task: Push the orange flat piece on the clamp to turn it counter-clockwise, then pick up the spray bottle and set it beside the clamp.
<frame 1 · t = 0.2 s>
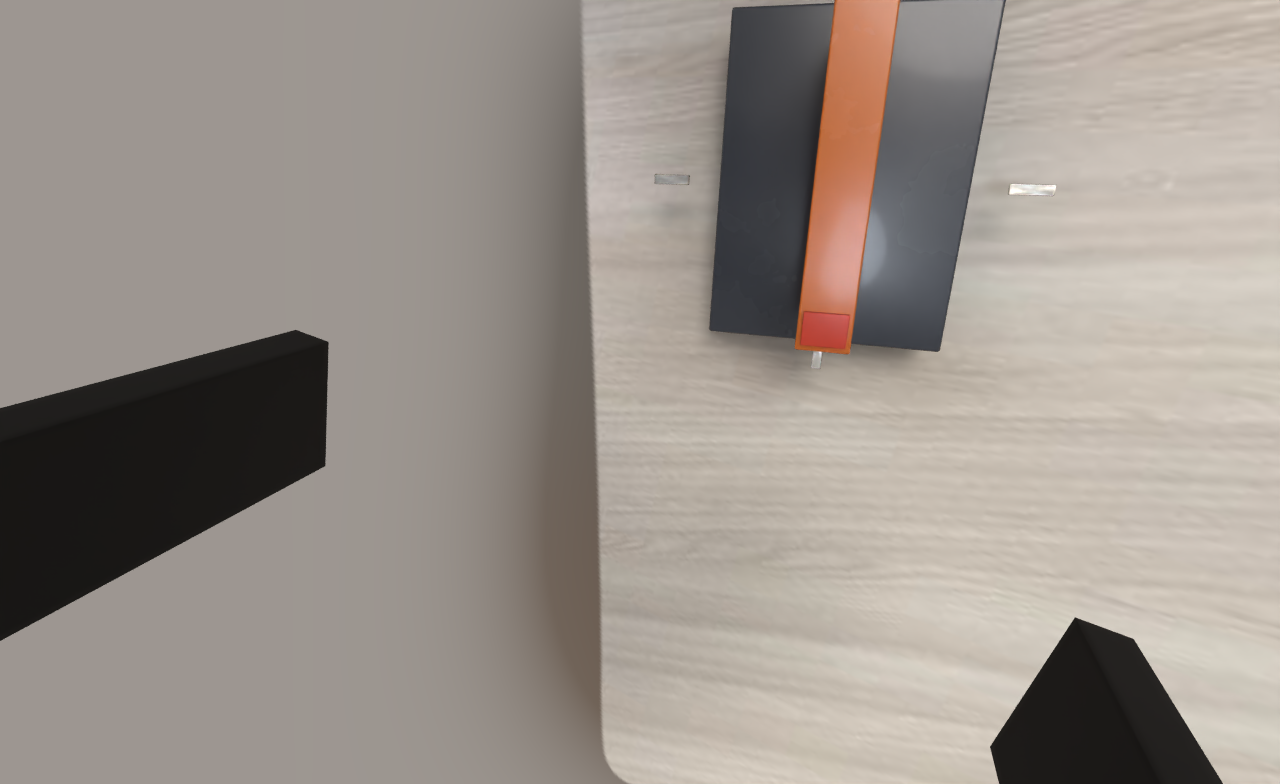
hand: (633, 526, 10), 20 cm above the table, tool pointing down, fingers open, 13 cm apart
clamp: (837, 187, 26), on the table
orange flat piece: (841, 180, 20), point 7 cm above the table, hinge at 0.0°
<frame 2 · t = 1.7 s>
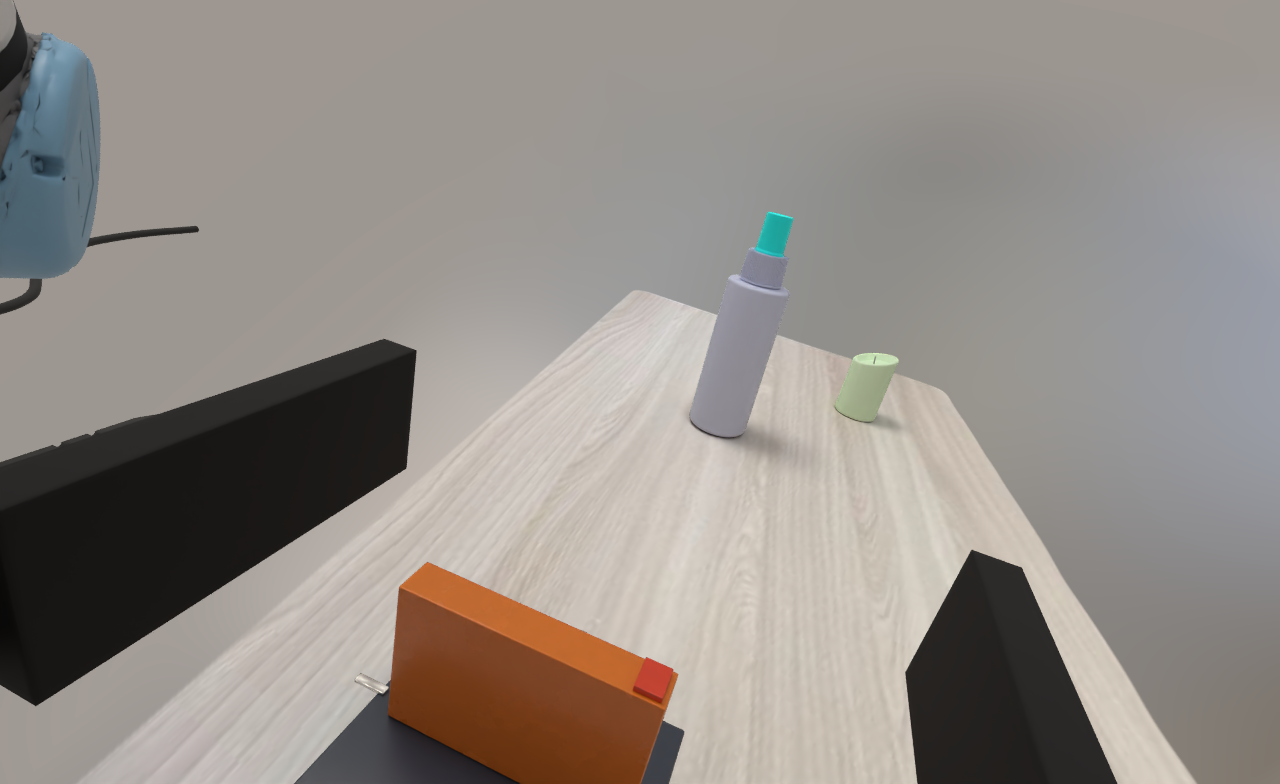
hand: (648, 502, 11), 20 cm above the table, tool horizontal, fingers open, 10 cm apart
spray bottle: (715, 426, 64), on the table
orange flat piece: (522, 693, 22), point 7 cm above the table, hinge at 0.0°
candle: (853, 414, 77), on the table
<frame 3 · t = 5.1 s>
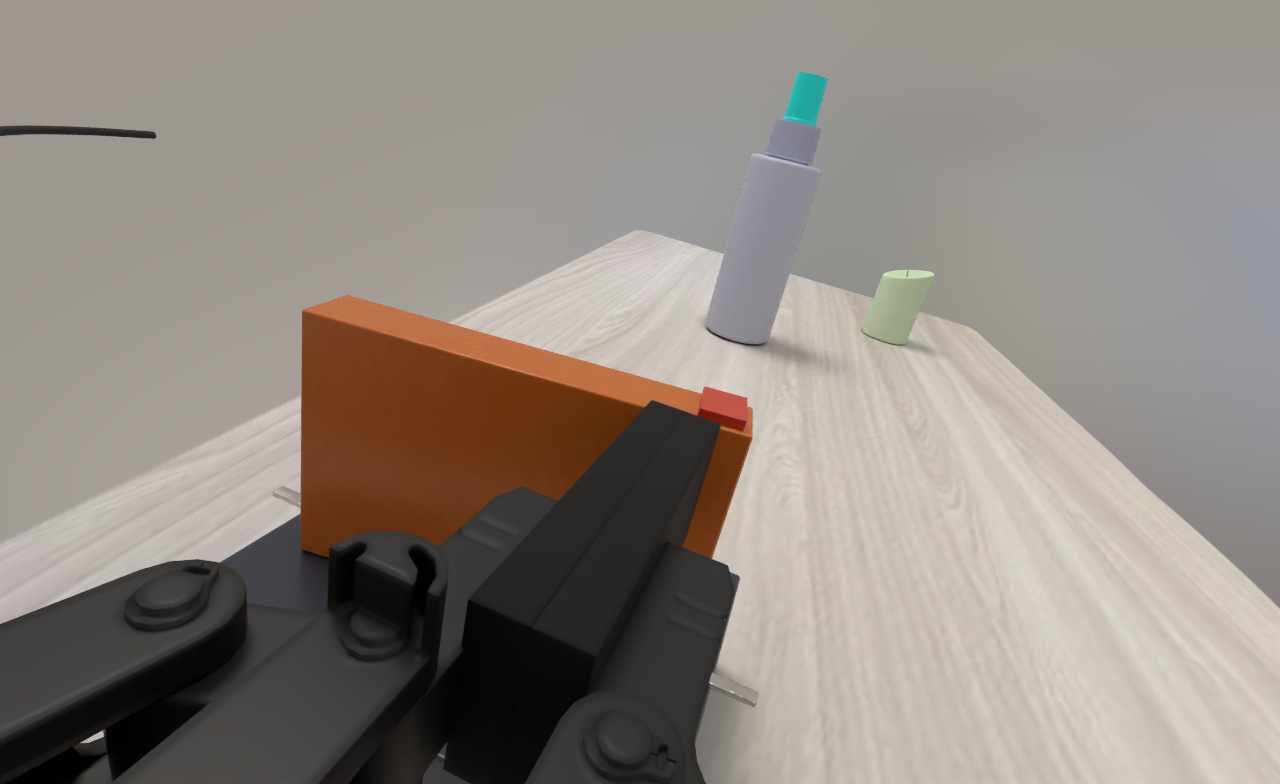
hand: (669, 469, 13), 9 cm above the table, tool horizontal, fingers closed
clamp: (479, 683, 17), on the table
spray bottle: (734, 335, 57), on the table
orange flat piece: (513, 478, 15), point 7 cm above the table, hinge at 8.4°, touching gripper
candle: (882, 338, 70), on the table
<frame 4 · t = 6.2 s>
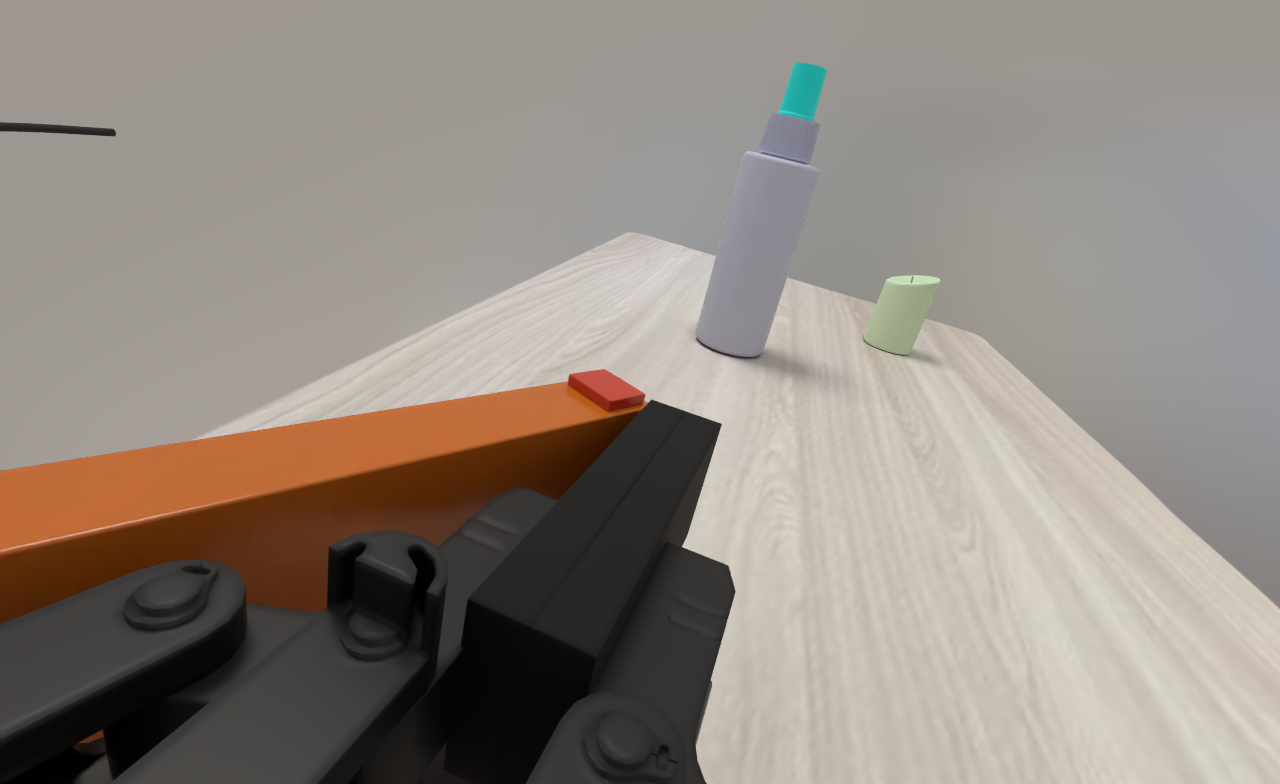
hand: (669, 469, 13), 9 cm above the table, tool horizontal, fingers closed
spray bottle: (727, 347, 53), on the table
orange flat piece: (390, 587, 11), point 7 cm above the table, hinge at 63.3°
candle: (885, 348, 66), on the table
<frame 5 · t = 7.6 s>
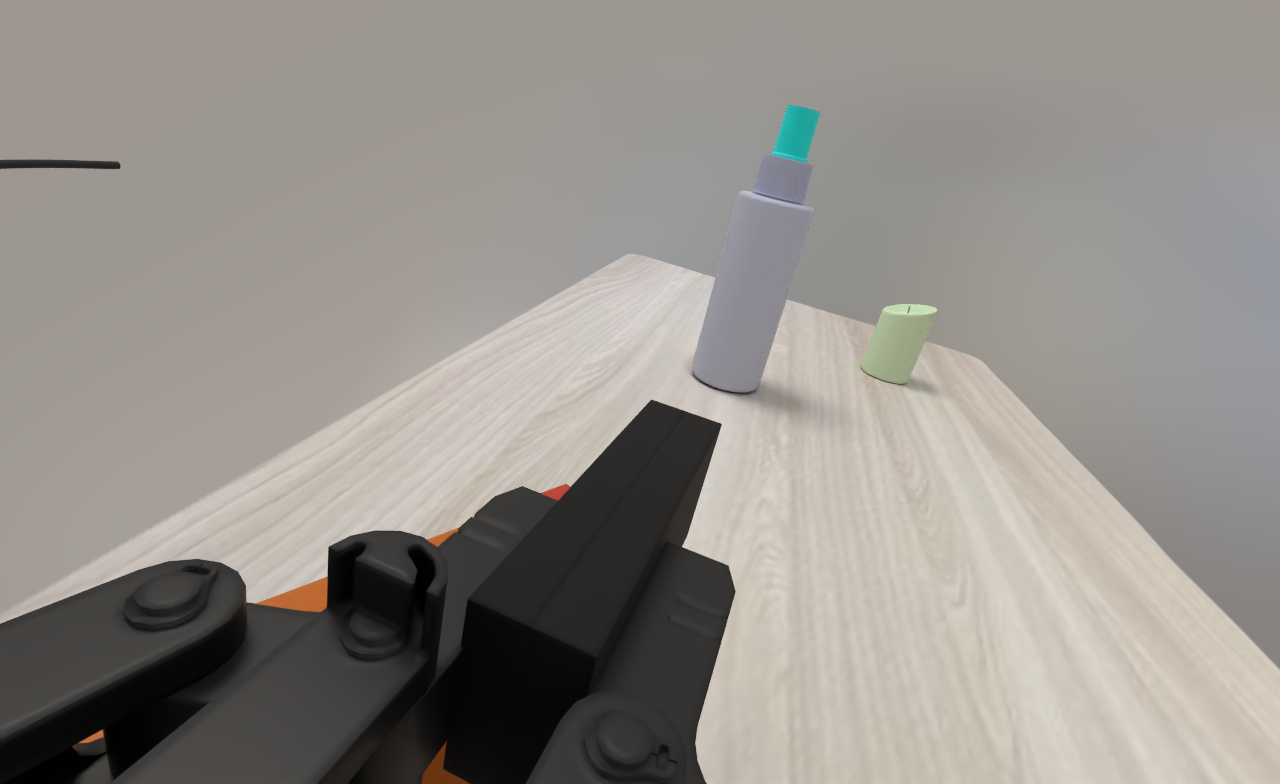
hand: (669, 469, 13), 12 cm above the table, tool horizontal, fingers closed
spray bottle: (723, 381, 53), on the table
orange flat piece: (361, 730, 11), point 7 cm above the table, hinge at 67.3°
candle: (883, 376, 66), on the table
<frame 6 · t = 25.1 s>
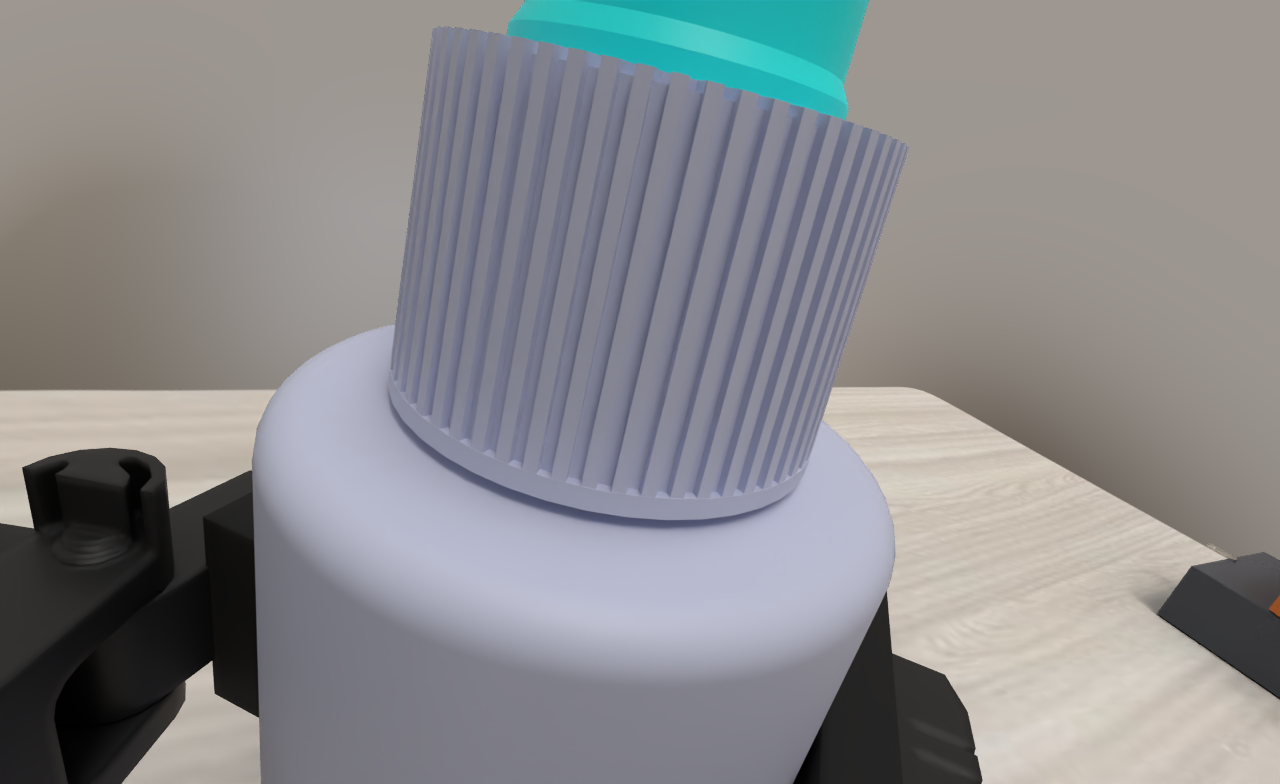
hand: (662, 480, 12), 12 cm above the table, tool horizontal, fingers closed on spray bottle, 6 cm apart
when the fingers open (12 cm above the table, at t = 32.2 s): spray bottle stays where it is, on the table.
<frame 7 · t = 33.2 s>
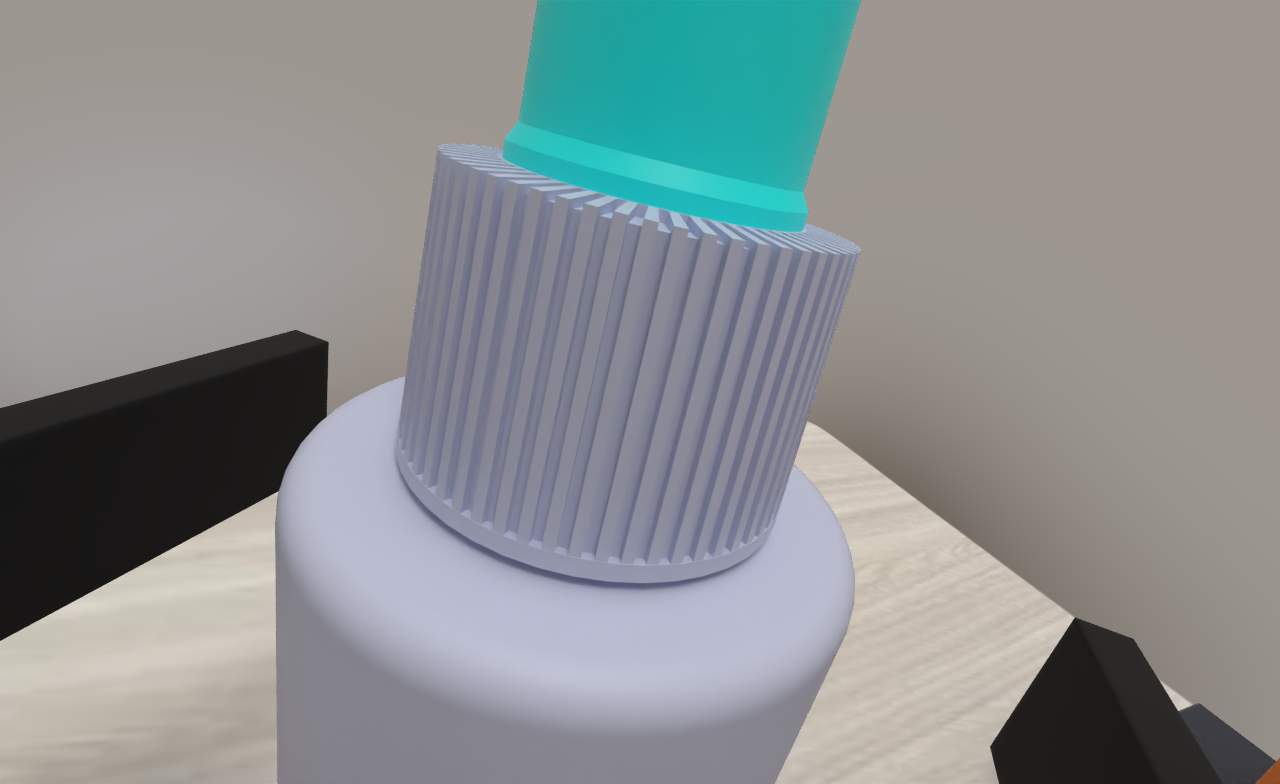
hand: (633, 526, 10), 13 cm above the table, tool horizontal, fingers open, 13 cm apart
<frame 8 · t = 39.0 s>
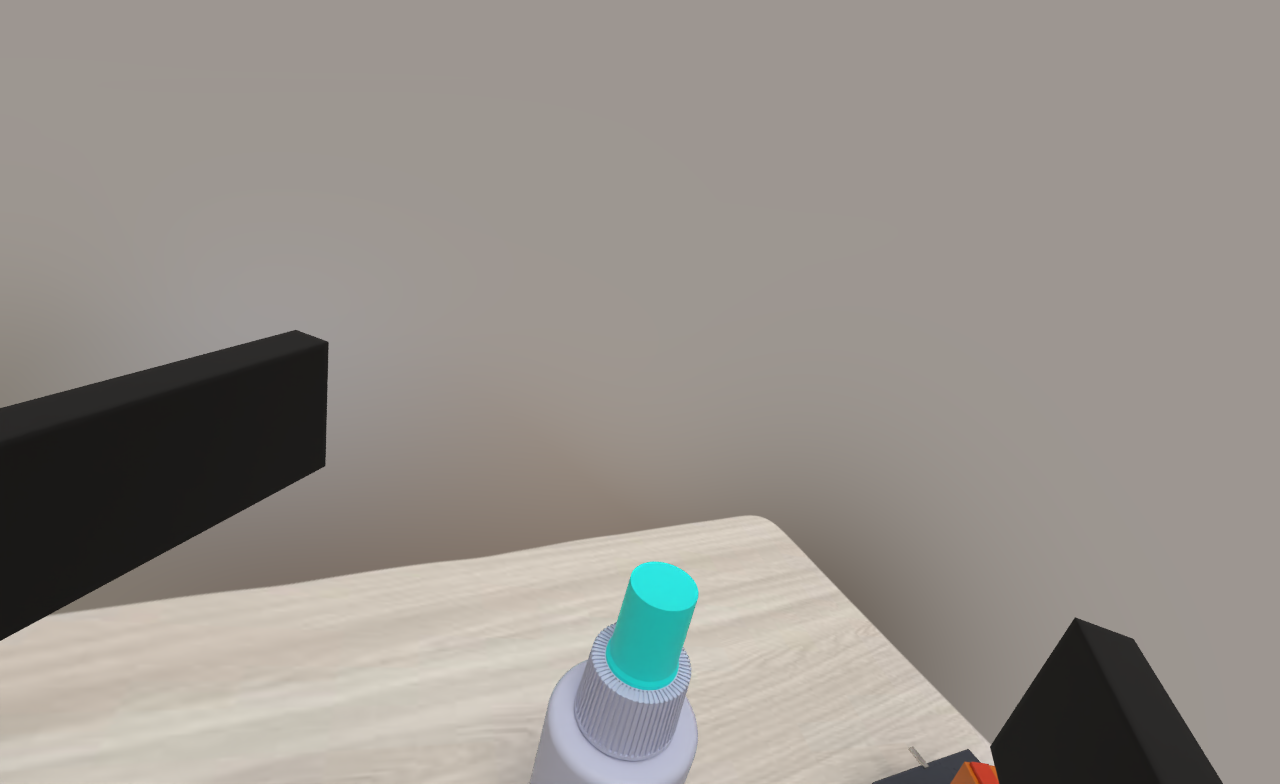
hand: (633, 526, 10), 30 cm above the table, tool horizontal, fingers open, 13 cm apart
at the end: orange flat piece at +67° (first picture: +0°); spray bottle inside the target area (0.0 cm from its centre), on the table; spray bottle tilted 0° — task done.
